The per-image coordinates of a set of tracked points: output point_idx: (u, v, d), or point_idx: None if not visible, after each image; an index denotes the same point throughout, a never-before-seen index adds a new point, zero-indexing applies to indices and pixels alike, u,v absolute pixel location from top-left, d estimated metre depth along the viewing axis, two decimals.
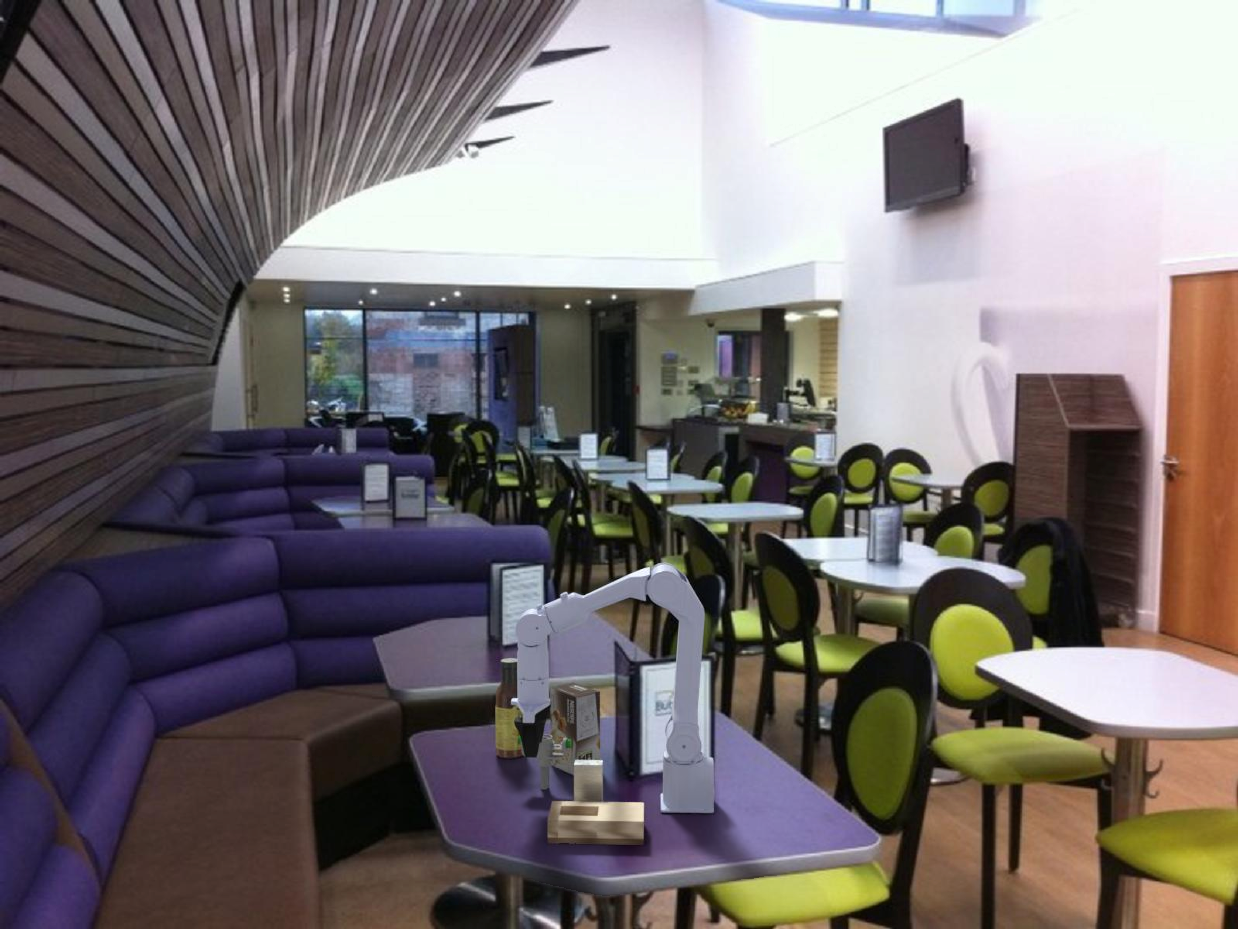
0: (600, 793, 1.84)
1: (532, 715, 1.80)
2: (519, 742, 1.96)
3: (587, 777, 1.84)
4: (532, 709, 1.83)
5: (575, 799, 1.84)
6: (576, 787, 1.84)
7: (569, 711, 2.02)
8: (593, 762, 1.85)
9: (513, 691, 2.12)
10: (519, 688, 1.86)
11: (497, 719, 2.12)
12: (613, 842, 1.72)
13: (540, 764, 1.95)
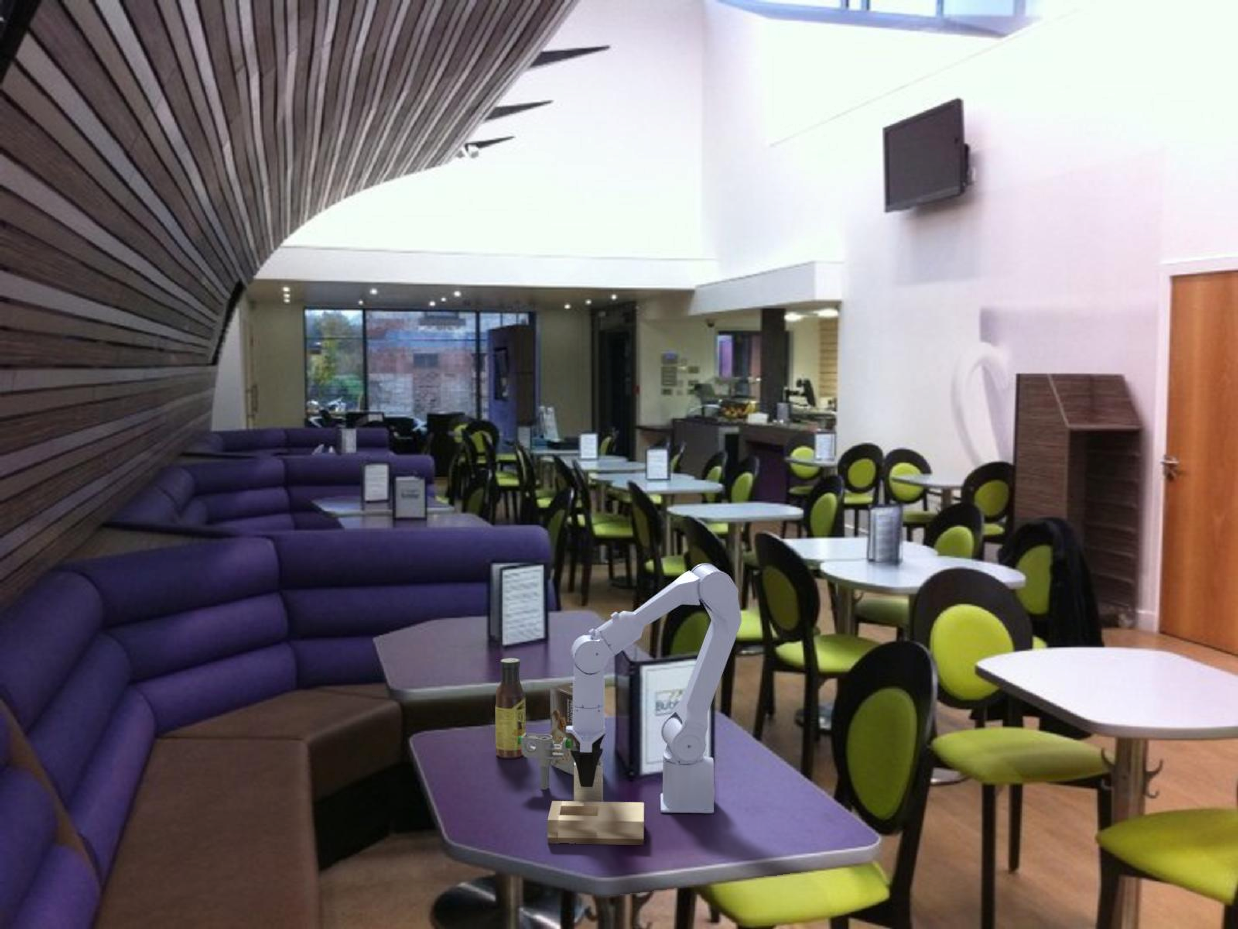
0: (600, 793, 1.84)
1: (590, 744, 1.77)
2: (519, 742, 1.96)
3: None
4: (589, 738, 1.80)
5: (575, 799, 1.84)
6: (576, 787, 1.84)
7: (569, 711, 2.02)
8: None
9: (513, 691, 2.12)
10: (574, 715, 1.83)
11: (497, 719, 2.12)
12: (613, 842, 1.72)
13: (540, 764, 1.95)
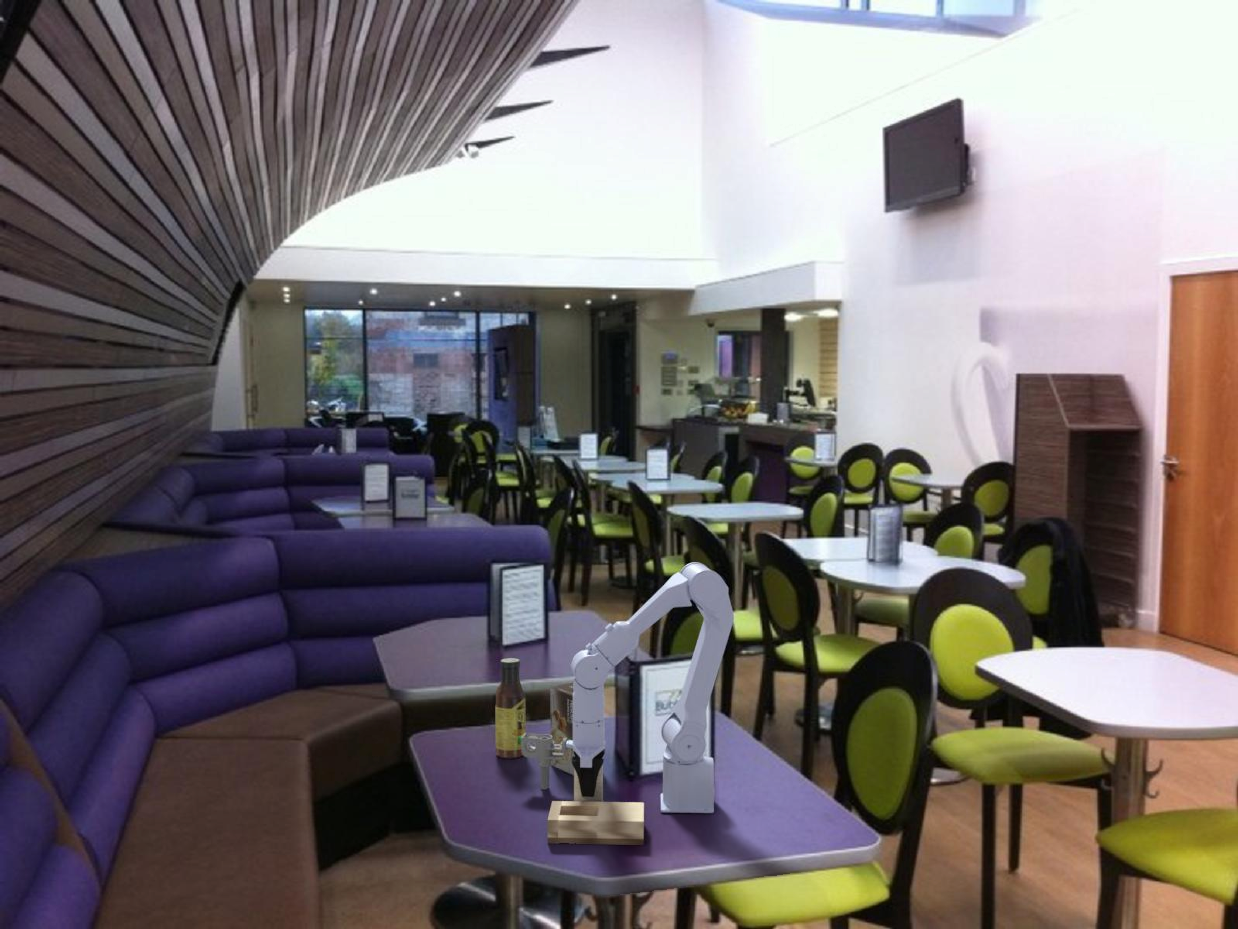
0: (600, 793, 1.84)
1: (590, 760, 1.77)
2: (519, 742, 1.96)
3: None
4: (589, 753, 1.80)
5: (575, 799, 1.84)
6: (576, 787, 1.84)
7: (569, 711, 2.02)
8: None
9: (513, 691, 2.12)
10: (575, 730, 1.83)
11: (497, 719, 2.12)
12: (613, 842, 1.72)
13: (540, 764, 1.95)
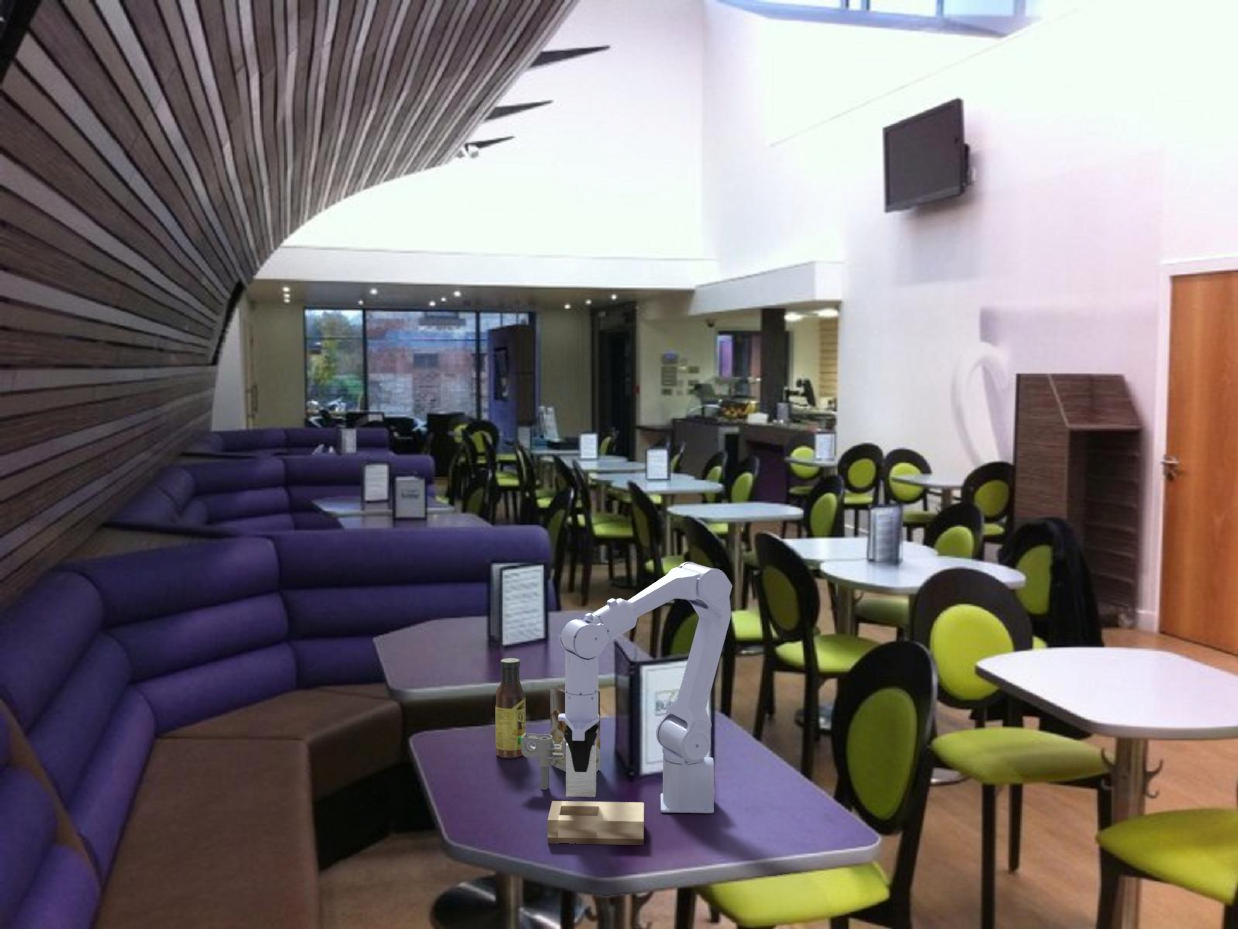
0: (593, 775, 1.77)
1: (582, 732, 1.70)
2: (519, 742, 1.96)
3: None
4: (582, 726, 1.73)
5: (567, 781, 1.77)
6: (568, 768, 1.77)
7: None
8: None
9: (513, 691, 2.12)
10: (567, 703, 1.76)
11: (497, 719, 2.12)
12: (613, 842, 1.72)
13: (540, 764, 1.95)
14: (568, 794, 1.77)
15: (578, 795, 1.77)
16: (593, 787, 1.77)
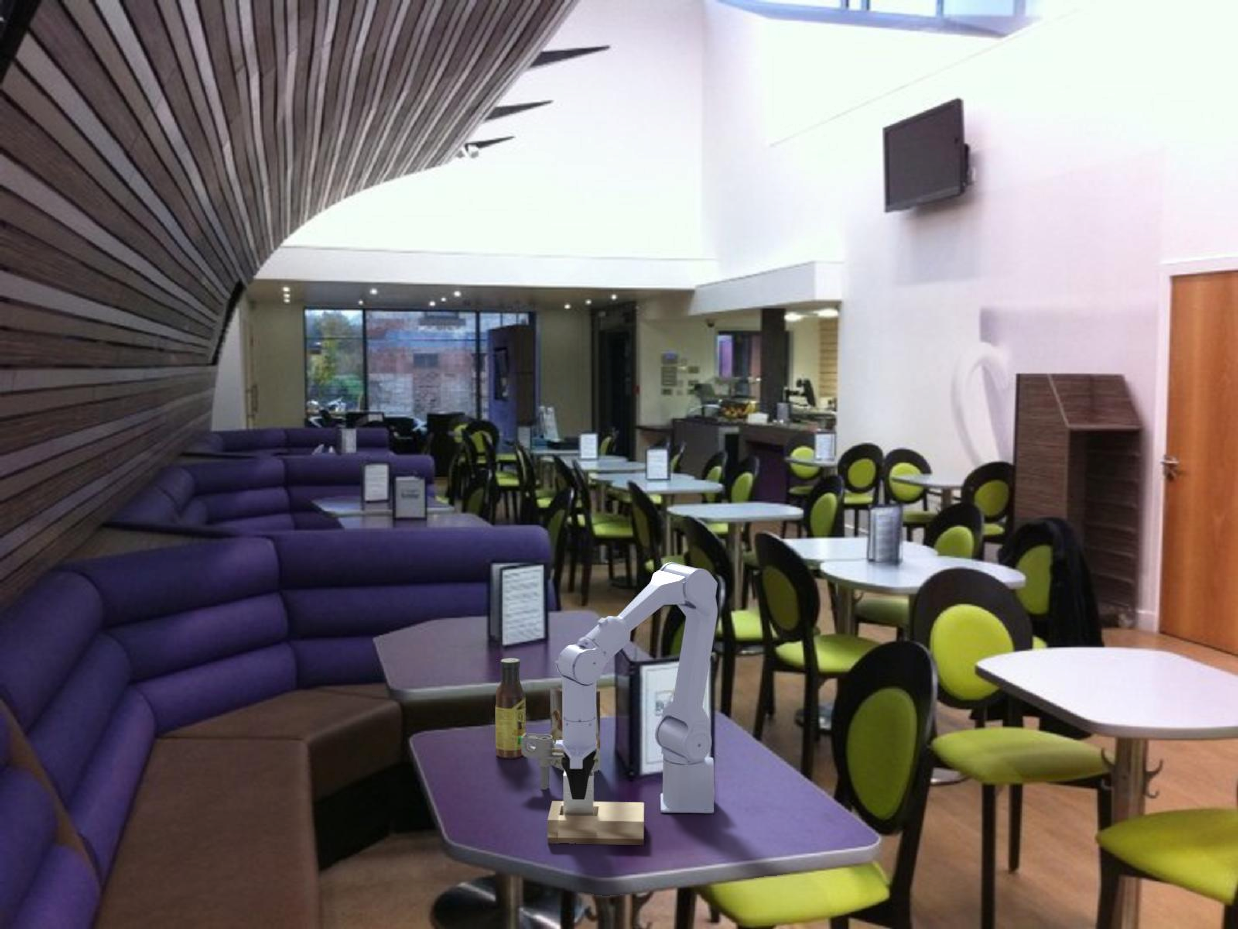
0: (591, 805, 1.74)
1: (580, 760, 1.68)
2: (519, 742, 1.96)
3: None
4: (579, 753, 1.70)
5: (564, 812, 1.75)
6: (566, 799, 1.74)
7: None
8: None
9: (513, 691, 2.12)
10: (564, 729, 1.73)
11: (497, 719, 2.12)
12: (613, 842, 1.72)
13: (540, 764, 1.95)
14: None
15: None
16: None
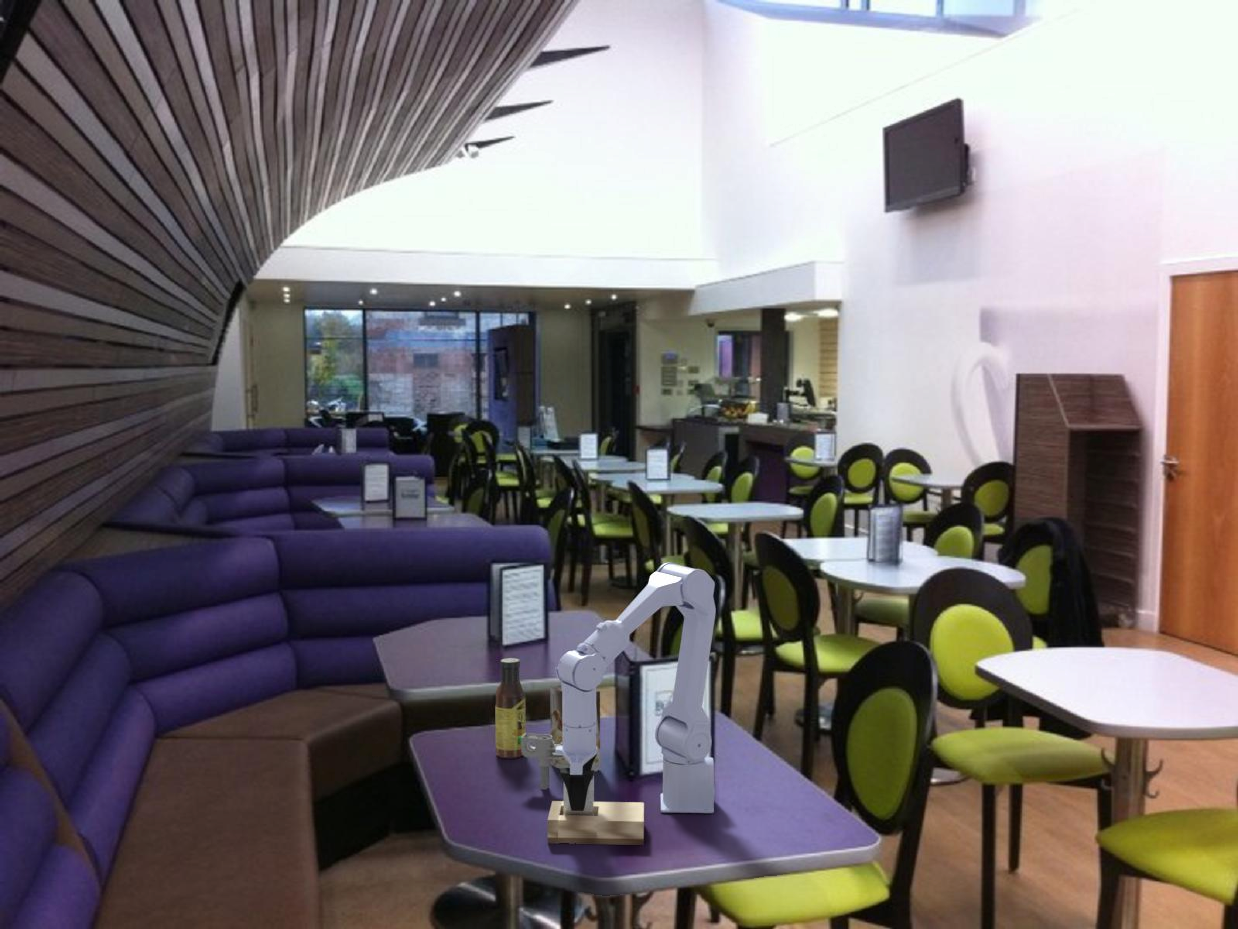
0: (591, 809, 1.74)
1: (580, 766, 1.68)
2: (519, 742, 1.96)
3: None
4: (579, 759, 1.70)
5: None
6: (566, 802, 1.74)
7: None
8: None
9: (513, 691, 2.12)
10: (564, 735, 1.73)
11: (497, 719, 2.12)
12: (613, 842, 1.72)
13: (540, 764, 1.95)
14: None
15: None
16: None
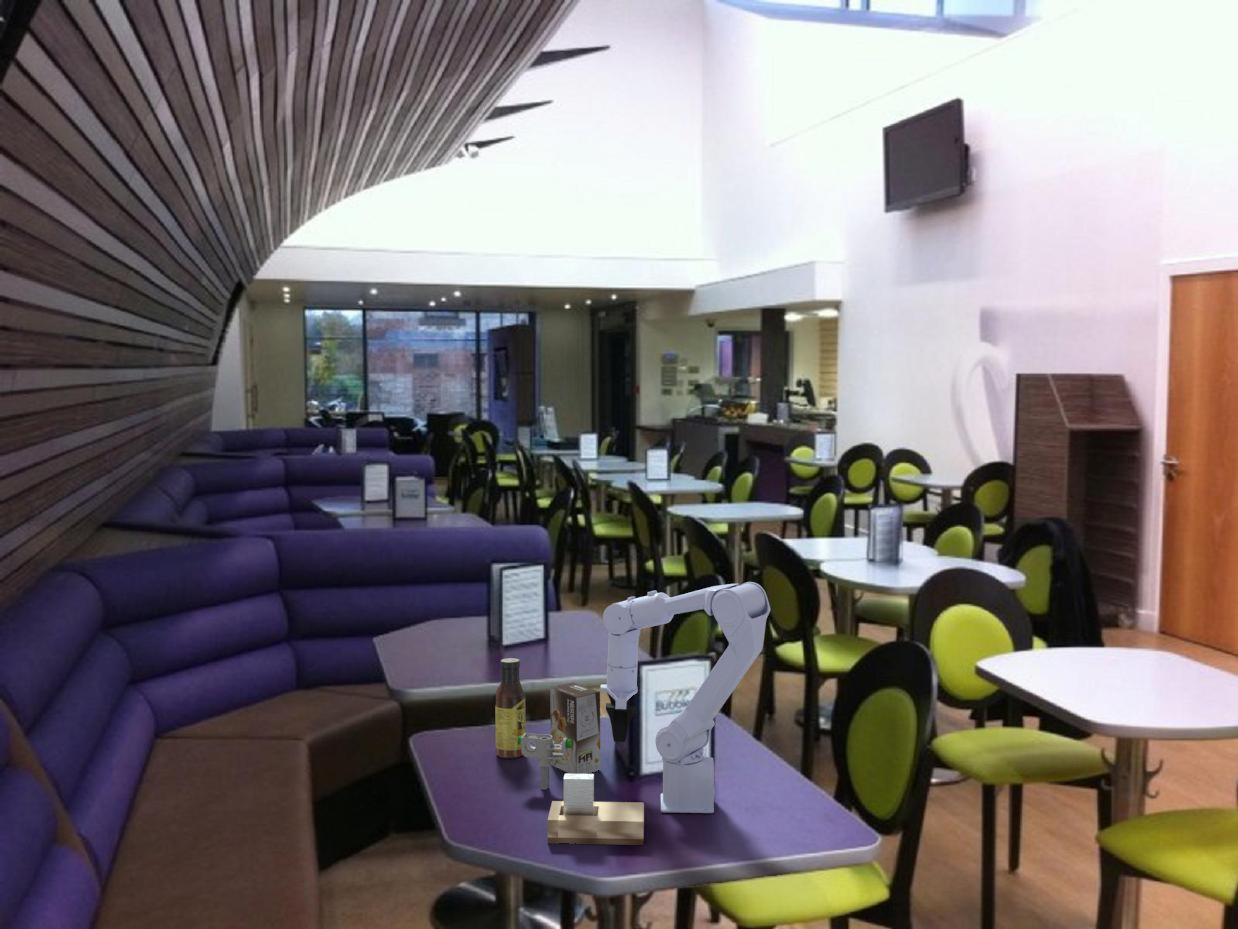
0: (591, 809, 1.74)
1: (625, 702, 1.88)
2: (519, 742, 1.96)
3: (577, 792, 1.74)
4: (623, 696, 1.90)
5: None
6: (566, 802, 1.74)
7: (569, 711, 2.02)
8: (584, 776, 1.75)
9: (513, 691, 2.12)
10: (609, 675, 1.93)
11: (497, 719, 2.12)
12: (613, 842, 1.72)
13: (540, 764, 1.95)
14: None
15: None
16: None
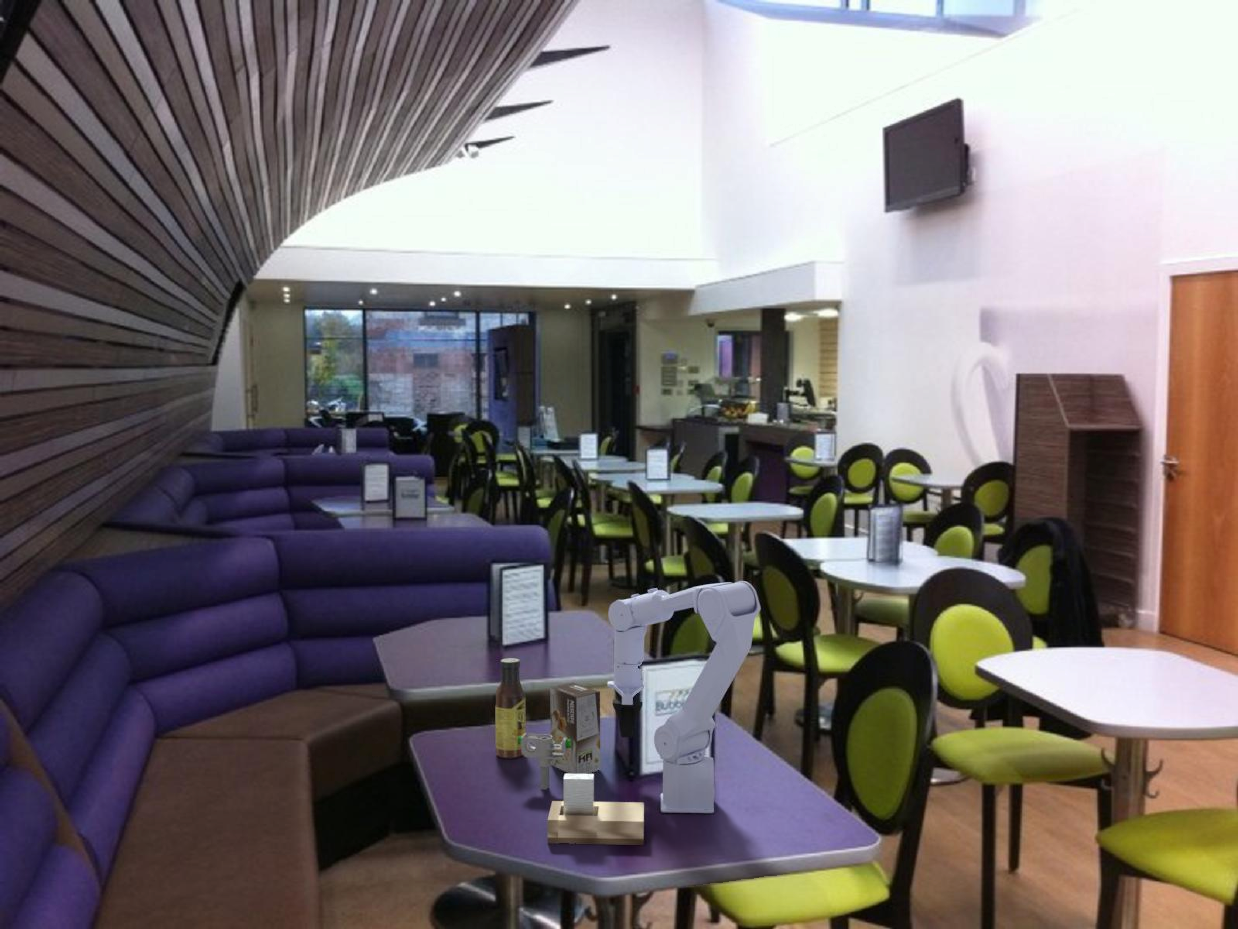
0: (591, 809, 1.74)
1: (631, 697, 1.90)
2: (519, 742, 1.96)
3: (577, 792, 1.74)
4: (630, 692, 1.93)
5: None
6: (566, 802, 1.74)
7: (569, 711, 2.02)
8: (584, 776, 1.75)
9: (513, 691, 2.12)
10: (616, 671, 1.96)
11: (497, 719, 2.12)
12: (613, 842, 1.72)
13: (540, 764, 1.95)
14: None
15: None
16: None
